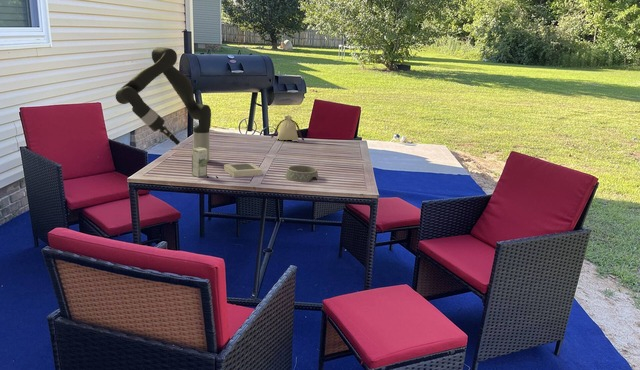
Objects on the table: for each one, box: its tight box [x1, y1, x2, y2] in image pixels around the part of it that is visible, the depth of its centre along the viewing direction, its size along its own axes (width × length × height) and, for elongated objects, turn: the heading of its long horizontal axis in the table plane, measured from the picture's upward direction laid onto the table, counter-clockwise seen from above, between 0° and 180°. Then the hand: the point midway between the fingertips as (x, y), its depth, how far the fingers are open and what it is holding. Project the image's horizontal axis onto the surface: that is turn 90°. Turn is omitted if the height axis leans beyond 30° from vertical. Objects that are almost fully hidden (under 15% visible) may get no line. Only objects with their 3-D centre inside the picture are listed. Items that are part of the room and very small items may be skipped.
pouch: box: [270, 115, 305, 142], centre depth 362 cm, size 25×8×19 cm, turn 91°
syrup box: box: [191, 147, 208, 178], centre depth 256 cm, size 6×6×14 cm
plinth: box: [223, 162, 263, 178], centre depth 269 cm, size 16×16×3 cm
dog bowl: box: [284, 164, 319, 183], centre depth 266 cm, size 17×18×5 cm
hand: (176, 141), depth 248 cm, fingers open, 8 cm apart
